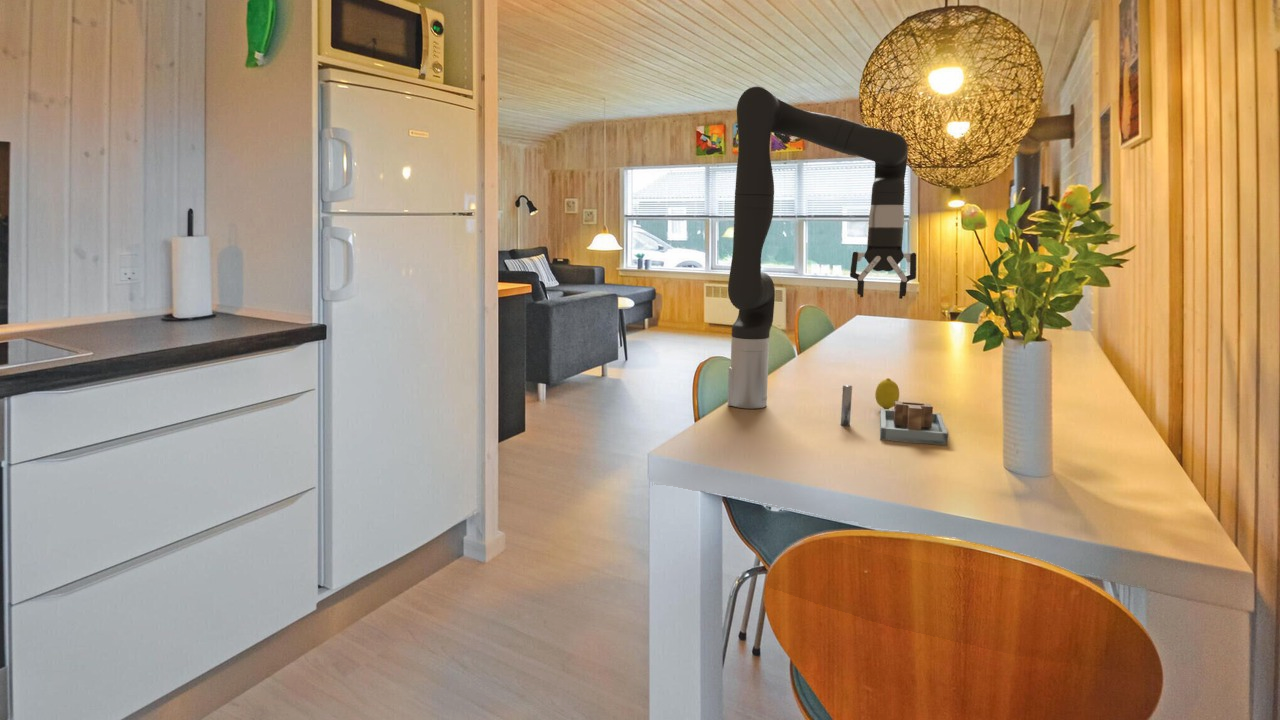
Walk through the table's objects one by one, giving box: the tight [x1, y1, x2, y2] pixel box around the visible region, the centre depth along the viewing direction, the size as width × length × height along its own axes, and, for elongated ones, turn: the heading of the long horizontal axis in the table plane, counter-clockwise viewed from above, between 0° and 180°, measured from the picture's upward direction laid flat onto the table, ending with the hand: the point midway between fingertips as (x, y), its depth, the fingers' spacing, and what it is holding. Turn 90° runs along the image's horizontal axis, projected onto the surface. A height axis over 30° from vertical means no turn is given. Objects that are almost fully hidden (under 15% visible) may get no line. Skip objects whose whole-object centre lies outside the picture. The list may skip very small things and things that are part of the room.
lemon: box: [875, 377, 900, 410], centre depth 180 cm, size 6×6×8 cm
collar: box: [893, 400, 934, 430], centre depth 160 cm, size 8×14×4 cm, turn 163°
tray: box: [879, 408, 949, 446], centre depth 161 cm, size 13×18×2 cm
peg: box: [840, 384, 853, 427], centre depth 166 cm, size 2×2×9 cm
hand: (881, 297), depth 169 cm, fingers open, 8 cm apart
